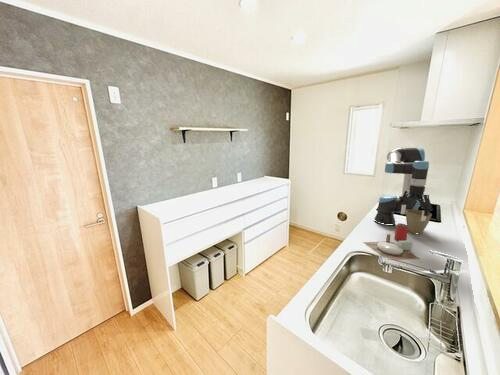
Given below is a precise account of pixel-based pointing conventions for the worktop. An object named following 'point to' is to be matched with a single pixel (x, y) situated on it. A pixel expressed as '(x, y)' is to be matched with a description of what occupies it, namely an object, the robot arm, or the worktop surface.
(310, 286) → the worktop surface
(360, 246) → the worktop surface
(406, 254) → the board
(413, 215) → the plant pot
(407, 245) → the white oval dish
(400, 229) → the beer can
